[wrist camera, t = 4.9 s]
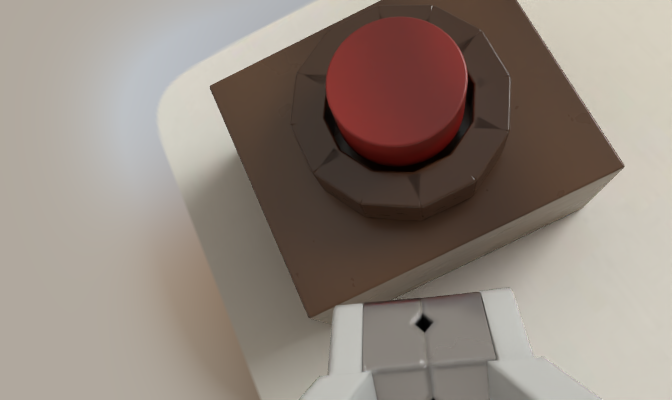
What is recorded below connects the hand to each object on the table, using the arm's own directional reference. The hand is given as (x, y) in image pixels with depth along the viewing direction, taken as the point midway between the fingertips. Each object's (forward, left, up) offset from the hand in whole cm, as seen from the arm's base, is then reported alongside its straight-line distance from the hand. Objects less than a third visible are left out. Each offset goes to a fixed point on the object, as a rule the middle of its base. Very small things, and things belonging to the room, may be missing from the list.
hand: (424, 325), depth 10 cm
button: (+3, +7, -8) cm, 11 cm away
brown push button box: (+3, +7, -16) cm, 18 cm away
